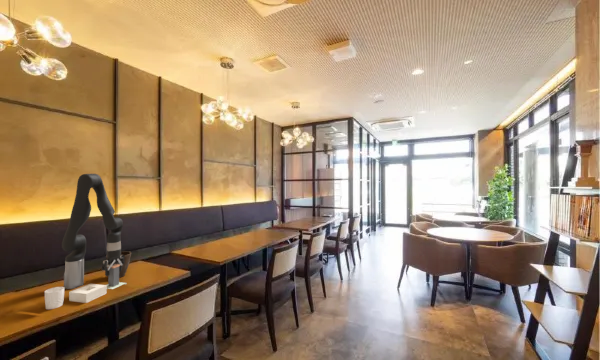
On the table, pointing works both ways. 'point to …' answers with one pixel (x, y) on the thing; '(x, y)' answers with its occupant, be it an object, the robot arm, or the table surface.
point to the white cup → (54, 297)
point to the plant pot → (125, 265)
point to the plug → (114, 275)
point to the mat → (115, 286)
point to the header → (87, 293)
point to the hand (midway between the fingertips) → (113, 273)
